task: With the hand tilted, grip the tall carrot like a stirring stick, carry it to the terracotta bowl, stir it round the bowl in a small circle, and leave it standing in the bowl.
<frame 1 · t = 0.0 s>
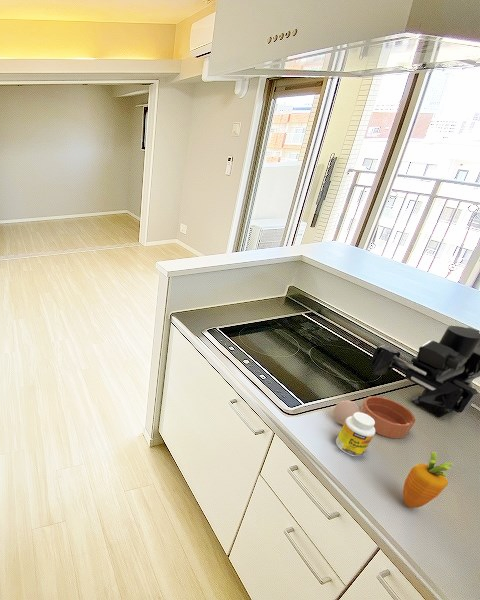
hand: (395, 385, 76), 17 cm above the counter, tool horizontal, fingers open, 9 cm apart
carrot: (407, 506, 68), on the counter
supplement bottle: (348, 448, 81), on the counter
bowl: (381, 423, 87), on the counter
egg: (341, 423, 88), on the counter
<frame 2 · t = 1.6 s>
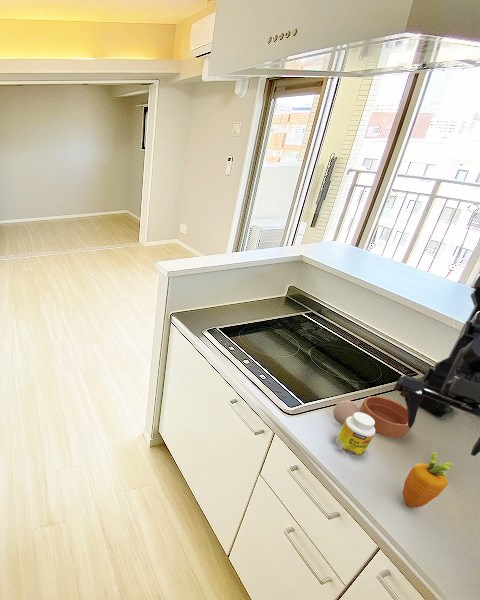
hand: (439, 440, 67), 13 cm above the counter, tool tilted 45°, fingers open, 9 cm apart
nothing on the counter moved.
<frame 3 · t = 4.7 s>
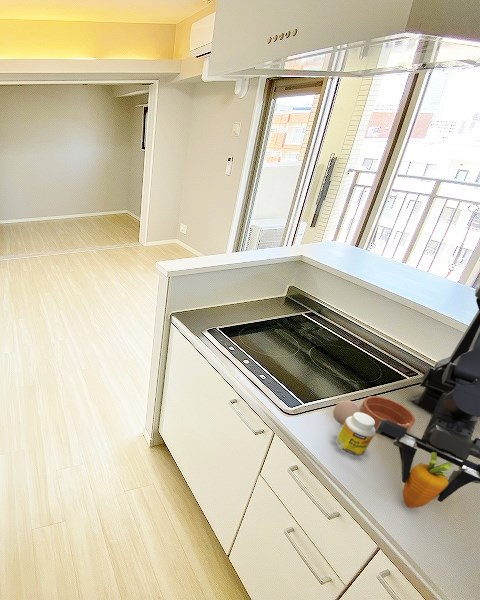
hand: (420, 491, 64), 7 cm above the counter, tool tilted 45°, fingers closed on carrot, 5 cm apart
carrot: (407, 506, 68), on the counter, touching gripper
everything else where it was.
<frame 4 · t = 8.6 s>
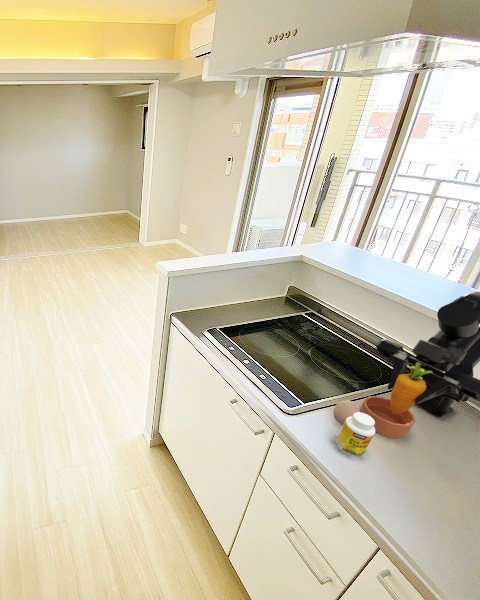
hand: (401, 395, 76), 15 cm above the counter, tool tilted 45°, fingers closed on carrot, 5 cm apart
carrot: (393, 414, 79), point 8 cm above the counter, touching gripper
everything else where it was.
when the fingers open (7 cm above the counter, at t = 12.9 s): carrot stays where it is, resting in bowl.
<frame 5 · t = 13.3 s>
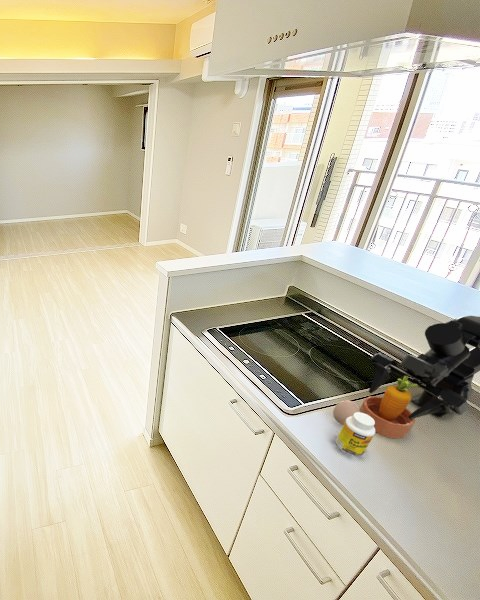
hand: (388, 404, 83), 7 cm above the counter, tool tilted 45°, fingers open, 9 cm apart
carrot: (382, 422, 87), resting in bowl
everything else where it was.
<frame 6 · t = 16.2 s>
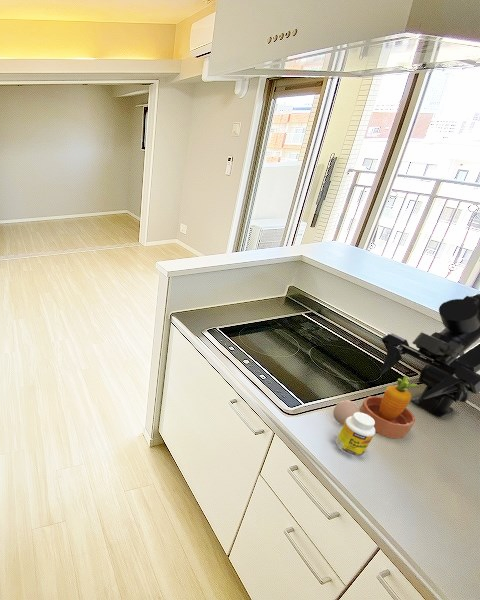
hand: (400, 385, 80), 14 cm above the counter, tool tilted 45°, fingers open, 9 cm apart
carrot: (382, 422, 87), resting in bowl
everything else where it was.
at the end: carrot inside the target area in the bowl (0.2 cm from its centre), point 0.4 cm above the bowl's base; the gripper is holding nothing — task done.
